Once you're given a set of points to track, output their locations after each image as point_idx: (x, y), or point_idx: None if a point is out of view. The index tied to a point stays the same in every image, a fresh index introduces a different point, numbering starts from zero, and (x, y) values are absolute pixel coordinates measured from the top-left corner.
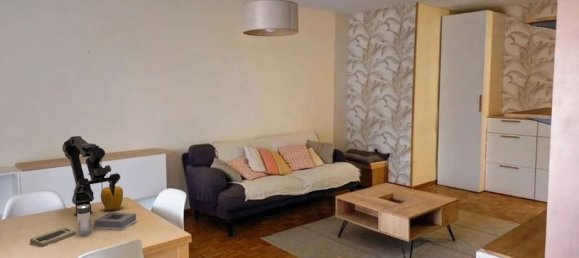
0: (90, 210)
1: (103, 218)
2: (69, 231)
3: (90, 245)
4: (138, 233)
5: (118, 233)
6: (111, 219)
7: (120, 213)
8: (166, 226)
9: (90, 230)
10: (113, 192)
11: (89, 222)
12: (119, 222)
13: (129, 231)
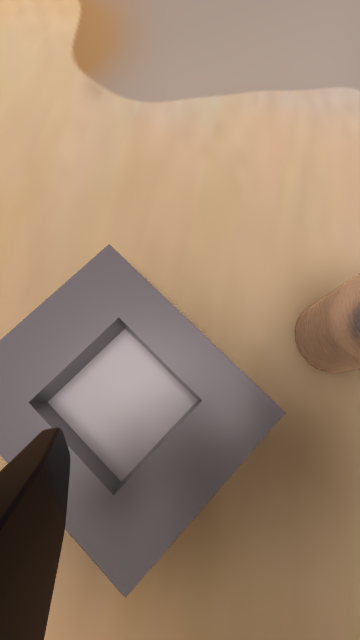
0: None
1: (211, 421)
2: None
3: (316, 145)
4: (62, 161)
5: (155, 228)
6: (162, 349)
7: None
8: None
9: (309, 310)
10: (34, 452)
11: (341, 287)
12: (126, 262)
13: (92, 222)
